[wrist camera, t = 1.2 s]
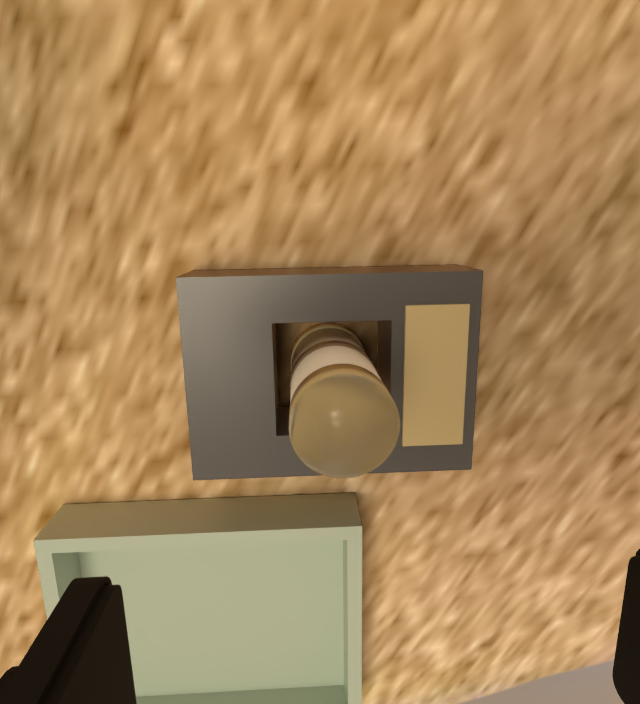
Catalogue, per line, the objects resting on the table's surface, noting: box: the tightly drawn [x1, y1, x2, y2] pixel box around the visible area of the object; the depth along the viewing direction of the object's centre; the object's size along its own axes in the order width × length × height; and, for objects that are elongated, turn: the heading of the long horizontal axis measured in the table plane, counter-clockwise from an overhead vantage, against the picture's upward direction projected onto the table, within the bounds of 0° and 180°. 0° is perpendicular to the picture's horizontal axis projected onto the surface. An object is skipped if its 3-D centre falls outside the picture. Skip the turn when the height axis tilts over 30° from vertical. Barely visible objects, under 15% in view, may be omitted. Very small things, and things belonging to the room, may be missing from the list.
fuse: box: [289, 322, 400, 478], centre depth 23 cm, size 4×4×10 cm
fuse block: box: [176, 265, 483, 480], centre depth 26 cm, size 14×10×4 cm
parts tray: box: [33, 492, 362, 704], centre depth 30 cm, size 17×14×4 cm
